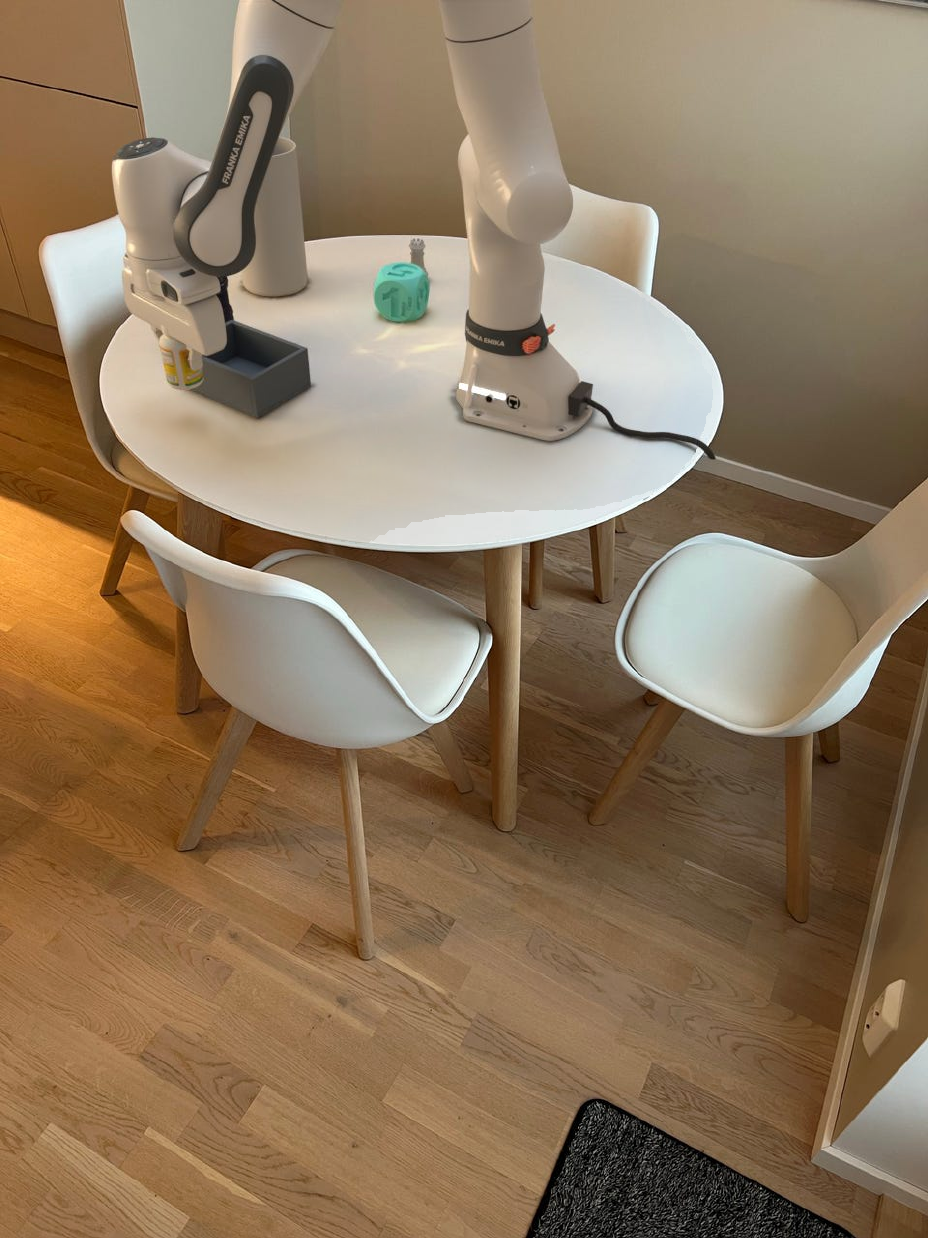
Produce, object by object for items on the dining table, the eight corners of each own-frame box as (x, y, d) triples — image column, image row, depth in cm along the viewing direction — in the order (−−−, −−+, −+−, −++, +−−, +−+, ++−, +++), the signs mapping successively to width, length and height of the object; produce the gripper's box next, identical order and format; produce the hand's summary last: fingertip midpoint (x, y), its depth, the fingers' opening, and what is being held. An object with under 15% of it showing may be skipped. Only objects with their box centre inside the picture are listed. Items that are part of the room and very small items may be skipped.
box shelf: (311, 386, 152) (307, 347, 148) (258, 418, 145) (252, 379, 140) (237, 356, 159) (231, 319, 154) (182, 386, 151) (174, 347, 146)
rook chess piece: (402, 278, 184) (401, 237, 178) (423, 275, 185) (423, 234, 180) (411, 287, 181) (410, 246, 175) (432, 284, 182) (432, 243, 177)
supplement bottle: (164, 391, 138) (151, 330, 131) (171, 373, 142) (158, 313, 135) (201, 391, 138) (190, 330, 132) (206, 373, 142) (196, 313, 136)
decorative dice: (374, 318, 171) (372, 275, 165) (390, 300, 176) (389, 258, 171) (414, 325, 169) (414, 283, 164) (429, 307, 175) (430, 265, 169)
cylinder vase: (230, 281, 180) (210, 143, 163) (284, 265, 187) (270, 130, 170) (266, 303, 174) (248, 161, 157) (320, 286, 180) (309, 148, 163)
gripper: (102, 252, 131) (124, 343, 141) (188, 298, 122) (205, 392, 131) (141, 240, 135) (159, 330, 144) (227, 284, 125) (241, 376, 134)
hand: (182, 360), depth 138 cm, fingers closed on supplement bottle, 5 cm apart
